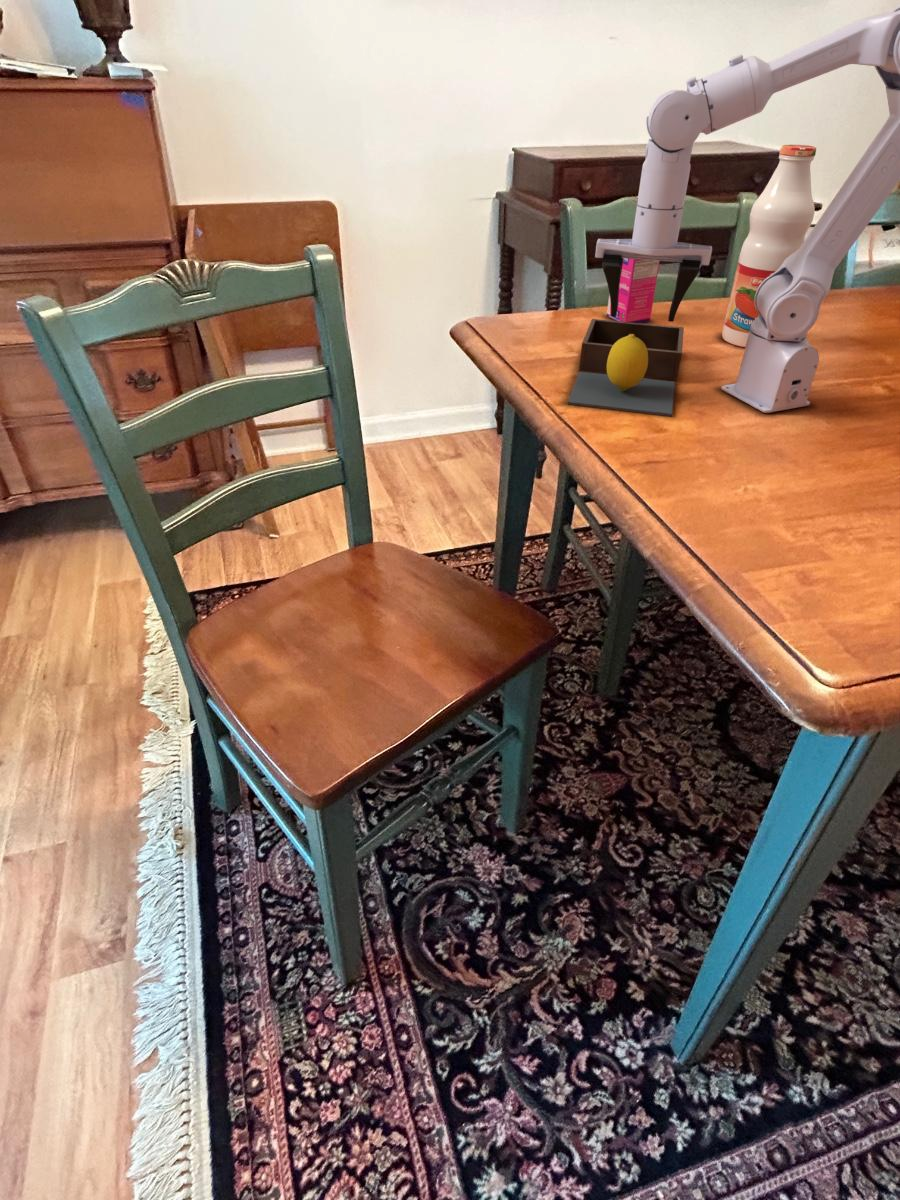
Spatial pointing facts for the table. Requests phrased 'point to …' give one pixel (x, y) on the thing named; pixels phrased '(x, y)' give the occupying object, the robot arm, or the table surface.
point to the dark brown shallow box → (657, 338)
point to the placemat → (623, 395)
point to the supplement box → (636, 291)
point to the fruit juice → (771, 236)
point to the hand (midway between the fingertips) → (642, 316)
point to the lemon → (627, 362)
